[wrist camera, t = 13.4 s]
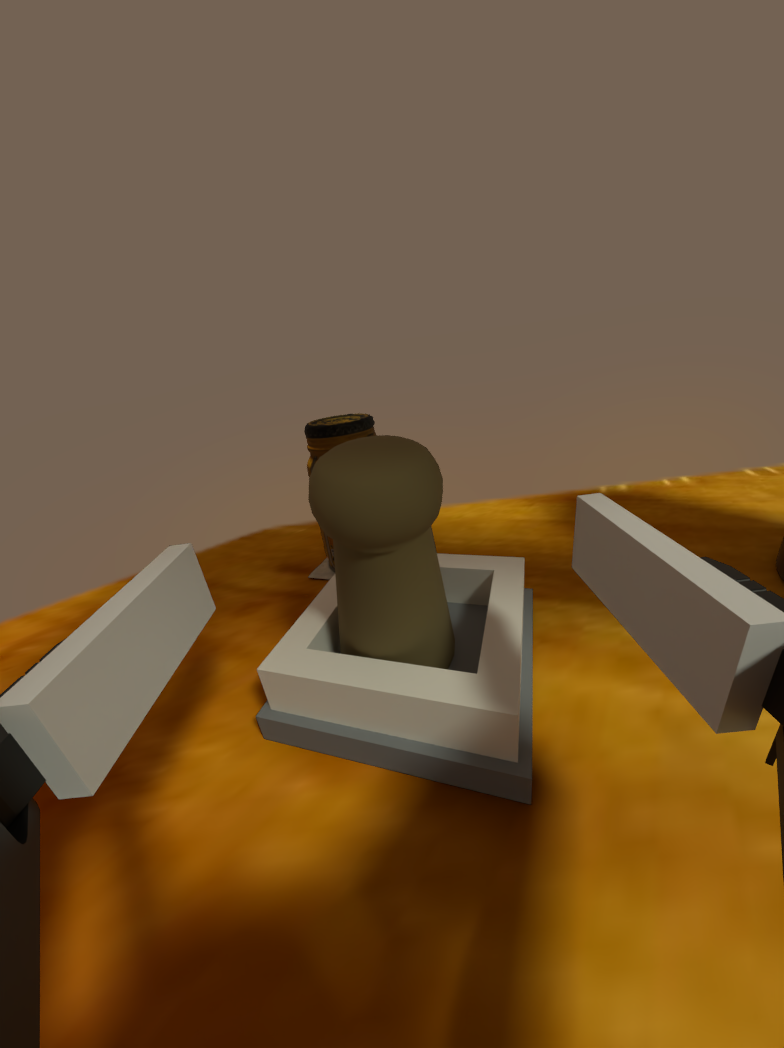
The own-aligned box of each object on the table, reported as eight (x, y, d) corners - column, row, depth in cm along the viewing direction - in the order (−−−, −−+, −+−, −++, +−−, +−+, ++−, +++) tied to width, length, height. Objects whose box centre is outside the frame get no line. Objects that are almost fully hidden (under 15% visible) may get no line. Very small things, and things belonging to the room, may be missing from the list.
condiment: (344, 539, 38) (319, 413, 33) (429, 541, 35) (415, 405, 30) (308, 579, 32) (270, 432, 27) (407, 587, 29) (386, 424, 24)
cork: (365, 593, 24) (331, 418, 17) (464, 610, 22) (466, 420, 16) (320, 680, 19) (252, 482, 13) (441, 711, 17) (431, 497, 11)
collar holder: (532, 608, 25) (533, 553, 23) (531, 804, 14) (533, 731, 13) (360, 593, 29) (350, 545, 27) (264, 738, 18) (240, 676, 17)
